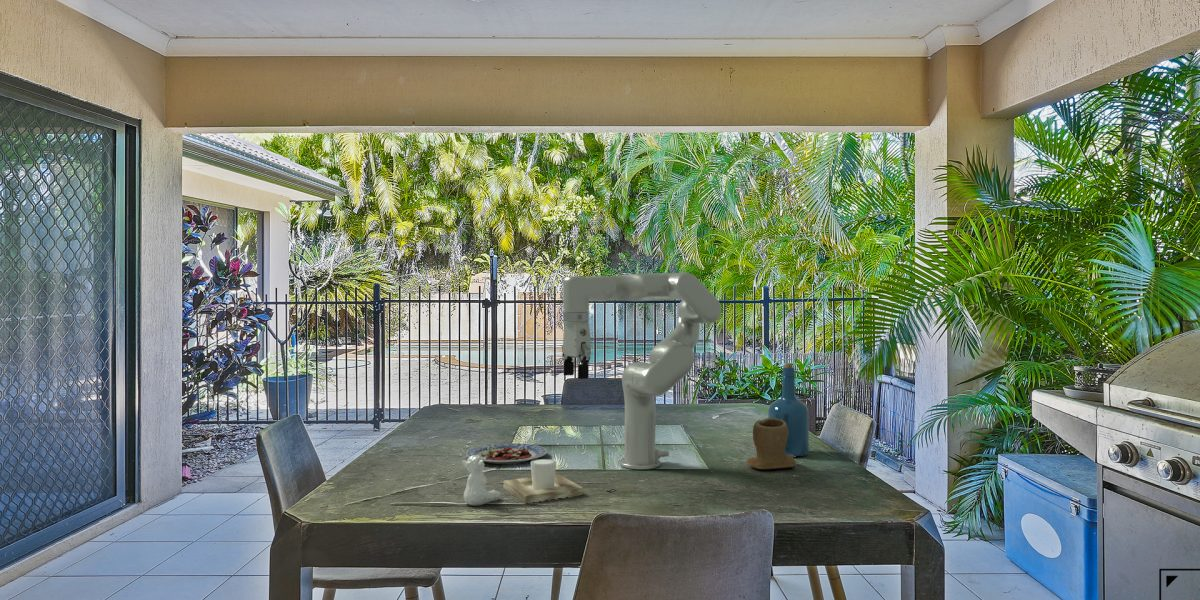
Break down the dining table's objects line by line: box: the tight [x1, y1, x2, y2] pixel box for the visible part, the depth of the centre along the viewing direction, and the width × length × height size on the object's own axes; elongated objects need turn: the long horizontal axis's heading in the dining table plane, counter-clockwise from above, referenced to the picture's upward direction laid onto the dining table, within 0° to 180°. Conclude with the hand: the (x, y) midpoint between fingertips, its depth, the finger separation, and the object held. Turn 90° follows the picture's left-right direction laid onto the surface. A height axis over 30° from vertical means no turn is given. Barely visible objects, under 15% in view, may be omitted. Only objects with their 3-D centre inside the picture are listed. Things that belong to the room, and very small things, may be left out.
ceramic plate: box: [465, 442, 548, 465], centre depth 219 cm, size 26×26×3 cm
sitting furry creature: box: [461, 455, 502, 506], centre depth 171 cm, size 10×9×12 cm
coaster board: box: [502, 473, 584, 505], centre depth 180 cm, size 16×16×2 cm
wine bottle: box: [767, 362, 810, 458], centre depth 226 cm, size 14×13×30 cm
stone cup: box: [746, 417, 798, 470], centre depth 206 cm, size 15×12×15 cm
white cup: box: [530, 458, 557, 490], centre depth 180 cm, size 7×7×7 cm
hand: (575, 376), depth 199 cm, fingers open, 9 cm apart
